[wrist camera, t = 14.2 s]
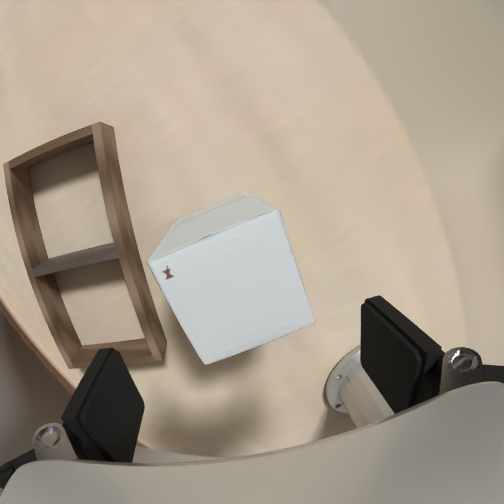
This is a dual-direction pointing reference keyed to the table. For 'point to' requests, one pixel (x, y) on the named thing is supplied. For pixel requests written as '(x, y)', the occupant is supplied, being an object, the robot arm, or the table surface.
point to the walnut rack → (122, 248)
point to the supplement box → (231, 277)
